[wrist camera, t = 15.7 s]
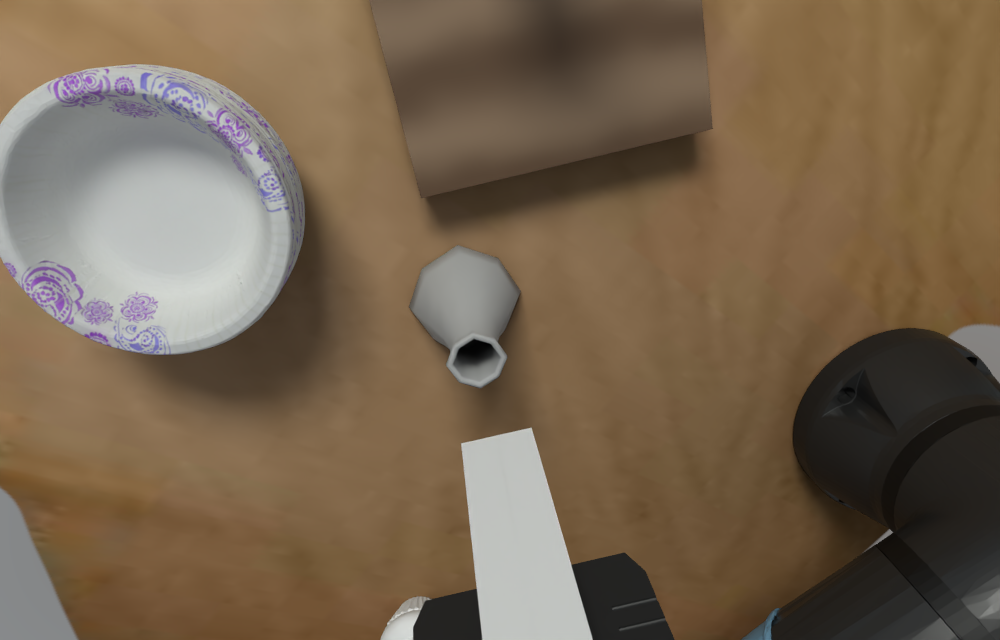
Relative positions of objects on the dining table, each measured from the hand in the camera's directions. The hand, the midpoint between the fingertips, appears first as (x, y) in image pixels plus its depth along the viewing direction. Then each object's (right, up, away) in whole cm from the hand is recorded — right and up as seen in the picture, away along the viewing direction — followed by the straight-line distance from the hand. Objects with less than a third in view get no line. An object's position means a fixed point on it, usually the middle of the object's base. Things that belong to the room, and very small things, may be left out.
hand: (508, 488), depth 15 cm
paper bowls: (-19, +11, +28) cm, 36 cm away
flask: (-3, +5, +33) cm, 33 cm away
